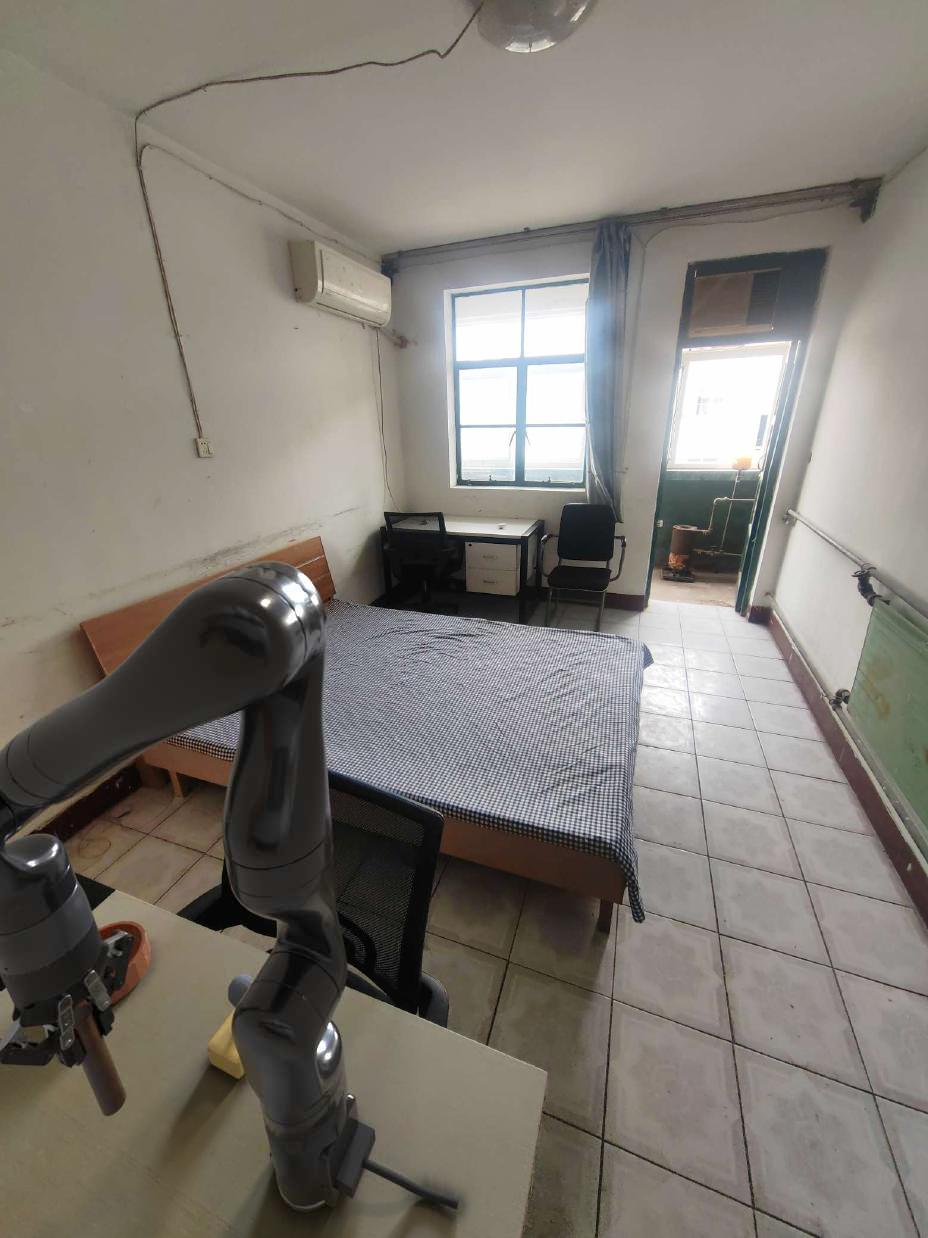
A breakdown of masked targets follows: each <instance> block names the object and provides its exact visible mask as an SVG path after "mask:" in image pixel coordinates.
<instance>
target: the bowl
mask: <svg viewBox="0 0 928 1238" xmlns="http://www.w3.org/2000/svg"><path fill="white" fill-rule="evenodd" d="M116 929H119V930H121V931H124V932H126V933H129V934H130V935H133V936H134V942H133V946H132V951H131V956H130V960H129V965H128V970H127V974H126V979H125V983H124V985H123V987H122V988H121V989H120V990H118V991H115V992H114V993H113V995H112V996H111V1003H110V1006H111V1005H113V1004H115V1003H117V1002H118V1001H119V1000H120V999H122V998H123V997H125V996H126V995H127V994H128V993H130V992H131V991H132V989H134V987H136V986H137V984H139V982H140V981H141V980H142V978H143V977H144V975H145V974H146V973H147V971H148V969H149V966H150V963H151V959H152V948H151V945H150V942H149V938H148V935H147V931H146V930H145V928H144V926H143V925H142V924H141V923H138V922H136V921H133V920H121V921H117V922H111V923H109V924H106V925H104V926H101V927H100V928H99V927H98V930H99V933H100V936H101V939H102V941H104V940H106V939H108V938H110V935H111V933H112V932H113V931H114V930H116ZM102 970H103V969H102ZM101 974H102V972H101ZM114 974H115V970H114ZM100 979H101V975H100ZM84 1004H87V1003H86V1002H85V1001H84V1000H83V1001H82V1002H81V1003H79V1004H78V1006H77V1007H79V1006H81V1005H84ZM77 1007H76V1008H77Z"/></svg>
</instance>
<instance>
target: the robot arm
mask: <svg viewBox="0 0 928 1238" xmlns="http://www.w3.org/2000/svg"><path fill="white" fill-rule="evenodd" d="M327 640H328V619H327V613H326V607H325V603H324V602H323V599H322V596H321V595H320V592H319V590H318V589H317V588H316V586H315V584H314V583H313V582H312V580H310V579H309V577H308V576H307V575H305V574H304V573H303V572H302V571H301V570H299V569H298V568H296V567H295V566H293V565H291V564H288V563H287V562H283V561H278V560H262V561H256V562H253V563H250V564H246V565H244V566H241V567H239V568H237V569H235V570H233V571H230V572H228V573H225V574H223V575H221V576H219V577H216V578H214V579H211V580H209V581H208V582H206V583H204V584H202V585H200V586H198V587H196V588H194V589H193V590H192V591H190V592H189V593H187V595H186V596H184V597H183V598H182V599H181V600H180V601H179V602H178V603H177V604H176V605H175V606H174V607H173V609H171V611H169V613H168V614H167V615H166V616H165V617H164V618H163V619H162V620H161V621H160V622H159V624H157V626H155V628H154V629H152V631H151V632H150V633H149V634H148V635H147V636H146V637H145V638H144V640H143V641H142V642H141V643H140V644H139V645H138V646H137V647H136V648H135V649H134V650H133V651H132V652H131V653H130V655H129V656H128V657H127V658H126V659H125V660H124V661H123V662H122V663H121V664H120V665H118V666H117V667H116V668H114V670H112V671H111V673H109V674H107V676H105V677H104V678H103V679H102V680H101V681H99V682H97V683H96V684H94V685H93V686H91V687H89V688H87V689H86V690H84V691H82V692H80V693H78V694H77V695H75V696H73V697H71V698H70V699H68V700H66V701H65V702H63V703H62V704H60V705H58V706H56V707H55V708H54V709H52V710H50V711H49V712H47V713H46V714H44V715H43V716H41V718H38V719H37V720H36V721H35V722H33V723H31V724H30V725H29V726H27V727H26V728H24V729H23V730H22V731H20V732H19V733H18V734H15V736H13V738H11V739H10V740H9V741H8V742H7V743H5V744H4V746H3V747H2V748H1V749H0V978H1V980H2V982H3V984H4V987H5V989H6V990H7V993H8V995H9V997H10V999H11V1001H12V1003H13V1009H12V1010H13V1011H12V1015H11V1019H12V1024H10V1026H9V1027H8V1030H6V1032H5V1033H4V1034H3V1036H2V1037H1V1038H0V1064H1V1065H2V1066H3V1065H5V1066H28V1067H29V1066H30V1067H45V1066H47V1065H48V1064H49V1063H50V1062H51V1061H52V1060H53V1058H54V1057H55V1056H56V1058H57V1060H58V1063H60V1064H62V1065H63V1066H65V1067H66V1068H68V1069H72V1068H73V1067H74V1066H76V1067H80V1066H81V1063H82V1062H83V1061H84V1060H85V1059H86V1058H85V1055H84V1053H83V1051H82V1048H81V1046H80V1043H79V1041H78V1039H77V1038H75V1036H74V1031H73V1025H74V1024H75V1021H74V1015H73V1011H74V1009H75V1008H76V1007H77V1006H78V1004H79V1003H81V1002H82V1001H83V1000H84V1001H85V1002H86V1003H87V1004H89V1005H91V1006H92V1009H93V1011H94V1014H95V1016H96V1019H97V1021H98V1024H99V1026H100V1029H101V1031H102V1034H103V1037H107V1036H108V1035H109V1034H110V1033H111V1032H112V1031H113V1026H112V1025H113V1023H114V1022H115V1018H116V1017H115V1014H114V1011H113V1008H112V1006H111V1005H110V1003H111V996H112V995H113V993H114V992H115V991H118V990H120V989H121V988H122V987H123V985H124V983H125V979H126V974H127V970H128V965H129V960H130V956H131V951H132V946H133V942H134V936H133V935H130V934H129V933H126V932H124V931H121V930H119V929H116V930H114V931H113V932H112V933H111V935H110V938H108V939H106V940H104V941H102V939H101V936H100V933H99V930H98V929H99V927H98V924H97V922H96V918H95V917H94V914H93V911H92V908H91V906H90V903H89V899H88V897H87V894H86V892H85V890H84V888H83V887H82V885H81V884H80V882H79V881H78V878H77V876H76V873H75V871H74V868H73V865H72V862H71V860H70V856H69V854H68V851H67V849H66V847H65V845H64V844H63V842H62V840H60V838H58V837H57V836H56V835H53V834H50V833H34V834H29V835H25V836H22V837H20V838H16V839H14V840H12V841H9V840H10V839H11V838H13V837H14V836H15V835H17V834H18V833H19V832H21V830H23V829H24V828H26V826H28V825H29V824H31V822H33V821H34V820H35V819H37V818H39V816H41V815H42V814H43V813H44V812H46V811H47V810H48V809H50V808H51V807H53V806H56V805H60V804H62V803H64V802H66V801H69V800H72V799H73V798H75V797H77V796H78V795H80V794H82V793H83V792H85V791H87V790H88V789H90V788H92V787H94V786H95V785H97V784H98V783H100V782H101V781H103V780H105V779H107V778H108V777H110V776H111V775H113V774H115V772H117V771H119V770H120V769H122V768H123V767H125V766H127V765H128V764H129V763H131V762H132V761H134V760H135V759H137V758H138V757H141V755H143V754H145V753H146V752H148V751H149V750H151V749H153V748H155V747H156V746H158V745H160V744H162V743H164V742H166V741H168V740H170V739H173V738H175V737H177V736H179V735H182V734H184V733H187V732H189V731H191V730H193V729H196V728H199V727H201V726H205V725H207V724H209V723H212V722H215V721H218V720H220V719H223V718H225V717H226V718H227V717H229V716H232V715H234V714H237V713H239V712H240V719H239V720H240V721H239V722H240V723H239V731H238V738H237V742H236V746H235V752H234V756H233V760H232V764H231V768H230V773H229V776H228V777H229V778H228V782H227V787H226V792H225V798H224V803H223V808H222V817H221V819H222V820H221V835H222V836H221V838H222V846H223V853H224V858H225V865H226V870H227V876H228V881H229V885H230V888H231V892H232V894H233V896H234V897H235V898H236V899H237V901H238V902H239V904H240V905H241V906H242V907H244V908H246V910H247V911H249V912H251V913H252V914H255V915H257V916H259V917H261V918H264V919H268V920H272V921H276V930H277V931H276V940H275V944H274V946H273V948H272V951H271V952H270V953H269V955H268V957H267V959H266V960H265V961H264V964H263V965H262V966H261V968H260V969H259V971H258V972H257V974H256V976H255V977H254V978H253V982H252V983H251V985H250V987H249V988H248V990H247V991H246V993H245V994H244V996H243V997H242V999H241V1000H240V1002H239V1003H238V1005H237V1007H236V1009H235V1008H234V1009H235V1011H234V1013H233V1016H232V1022H231V1031H232V1037H233V1040H234V1044H235V1047H236V1049H237V1052H238V1055H239V1057H240V1060H241V1063H242V1066H243V1069H244V1072H245V1073H244V1076H245V1078H246V1080H247V1083H248V1084H249V1086H250V1088H251V1090H252V1091H253V1093H254V1094H255V1096H256V1098H257V1099H258V1100H259V1105H260V1110H261V1113H262V1114H261V1115H262V1118H263V1122H264V1128H265V1132H266V1136H267V1141H268V1144H269V1145H268V1146H269V1150H270V1151H269V1159H272V1162H273V1167H274V1170H275V1178H276V1183H277V1188H278V1191H279V1194H280V1196H281V1199H283V1201H284V1202H285V1204H286V1205H287V1206H288V1207H289V1208H291V1209H293V1210H294V1211H298V1212H302V1213H306V1212H307V1213H308V1212H313V1211H316V1210H318V1209H320V1208H322V1207H324V1206H328V1207H330V1208H331V1209H332V1208H335V1206H336V1205H337V1203H338V1200H339V1197H340V1195H341V1194H344V1195H346V1196H347V1197H349V1198H351V1199H354V1197H355V1194H356V1192H357V1189H358V1186H359V1185H360V1181H361V1178H362V1176H363V1173H364V1171H365V1170H367V1171H369V1172H371V1173H373V1174H374V1175H376V1176H379V1177H380V1178H382V1179H385V1180H387V1181H389V1182H391V1183H392V1184H395V1185H397V1186H398V1187H400V1188H402V1189H404V1190H406V1191H408V1192H409V1193H412V1194H413V1195H416V1196H418V1197H421V1198H424V1199H425V1200H428V1201H431V1202H434V1203H436V1204H439V1205H442V1206H445V1207H448V1208H451V1209H454V1210H458V1208H459V1201H460V1200H459V1198H457V1197H454V1196H451V1195H448V1194H446V1193H442V1192H440V1191H436V1190H433V1189H431V1188H428V1187H426V1186H423V1185H421V1184H419V1183H417V1182H414V1181H413V1180H411V1179H409V1178H407V1177H405V1176H403V1175H402V1174H399V1173H398V1172H395V1171H394V1170H392V1169H390V1168H387V1167H385V1166H384V1165H382V1164H379V1163H377V1162H375V1161H373V1160H372V1159H369V1158H370V1156H371V1153H372V1150H373V1148H374V1145H375V1142H376V1130H375V1128H374V1127H371V1126H370V1125H367V1123H364V1122H362V1121H360V1120H359V1113H358V1104H357V1097H356V1096H355V1095H354V1094H351V1093H350V1092H349V1087H348V1078H347V1072H346V1063H345V1055H344V1046H343V1045H344V1044H343V1039H342V1036H341V1032H340V1030H339V1027H338V1026H337V1025H336V1023H335V1022H334V1021H333V1020H332V1018H333V1017H334V1014H335V1012H336V1010H337V1008H338V1006H339V1004H340V1002H341V1000H342V997H343V994H344V991H345V989H346V985H347V982H348V975H349V973H348V972H349V971H348V967H349V966H348V958H347V952H346V948H345V943H344V938H343V935H342V934H343V933H342V929H341V925H340V920H339V915H338V908H337V895H336V894H337V892H336V883H335V869H334V838H333V836H334V835H333V823H332V822H333V820H332V809H331V801H330V800H331V799H330V787H329V773H328V760H327V748H326V747H327V746H326V739H325V738H326V737H325V728H324V687H325V670H326V659H327V658H326V656H327ZM8 841H9V842H8ZM6 842H7V843H6ZM102 969H103V970H102ZM114 970H115V974H114ZM101 972H102V974H101ZM100 975H101V979H100ZM41 1026H42V1027H43V1029H44V1033H45V1038H44V1039H43V1040H41V1041H40V1042H39V1041H34V1040H33V1041H32V1040H28V1035H27V1034H26V1033H25V1032H26V1028H32V1027H41Z"/></svg>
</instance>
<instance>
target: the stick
mask: <svg viewBox="0 0 928 1238" xmlns="http://www.w3.org/2000/svg"><path fill="white" fill-rule="evenodd" d="M73 1015H74V1021H75V1024H74V1025H73V1031H74V1036H75V1038H77V1039H78V1041H79V1043H80V1046H81V1048H82V1051H83V1053H84V1055H85V1058H86V1059H85V1060H84V1061H83V1062H82V1063H81V1064H80V1066H81V1067H82V1069H83V1071H84V1074H85V1076H86V1078H87V1080H88V1083H89V1086H90V1088H91V1090H92V1092H93V1095H94V1098H95V1099H96V1102H97V1104H98V1106H99V1109H100V1111H101V1113H102V1115H103V1116H105V1117H110V1116H111V1117H112V1116H113V1115H115V1114H116V1113H118V1111H120V1110H121V1108H122V1107H123V1106H124V1104H125V1102H126V1099H127V1093H126V1090H125V1088H124V1087H125V1086H124V1085H123V1082H122V1080H121V1077H120V1075H119V1072H118V1070H117V1067H116V1065H115V1062H114V1059H113V1057H112V1054H111V1051H110V1049H109V1046H108V1045H107V1042H106V1039H105V1036H104V1035H103V1034H102V1031H101V1029H100V1026H99V1024H98V1021H97V1019H96V1016H95V1014H94V1011H93V1009H92V1006H91V1005H89V1004H84V1005H81V1006H79V1007H77V1008H75V1009H74V1011H73Z"/></svg>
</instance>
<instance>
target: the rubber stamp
mask: <svg viewBox="0 0 928 1238" xmlns="http://www.w3.org/2000/svg"><path fill="white" fill-rule="evenodd" d="M253 980H254V978H252V977H251V976H250V975H249V974H248V973H247V974H246V973H241V974H238V975H236V976H235V977H234V978H233V979H232V980H231V981H230V983H229V985H228V987H227V998H228V1002H229V1003H230V1004H231V1005H232V1006H233V1010H232V1011H231V1013H230V1014H229V1015H228V1016H227V1018H226V1020H225V1021H224V1022H223V1024H222V1025H221V1026H220V1027H219V1029H218V1030H217V1032H216V1033H215V1034H214V1035H213V1036H212V1038H211V1040H210V1041H209V1042H208V1044H207V1045H206V1050H207V1054H208V1058H209V1061H210V1064H211V1065H212V1066H214V1067H217V1068H218V1069H220V1070H221V1071H223V1072H225V1073H226V1074H228V1075H230V1076H232V1077H233V1078H236V1079H238V1080H240V1078H242V1077H243V1075H245V1072H244V1069H243V1066H242V1063H241V1060H240V1057H239V1055H238V1052H237V1049H236V1047H235V1044H234V1040H233V1037H232V1031H231V1022H232V1016H233V1013H234V1011H235V1009H236V1007H237V1005H238V1003H239V1002H240V1000H241V999H242V997H243V996H244V994H245V993H246V991H247V990H248V988H249V987H250V985H251V983H252V982H253Z"/></svg>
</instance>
